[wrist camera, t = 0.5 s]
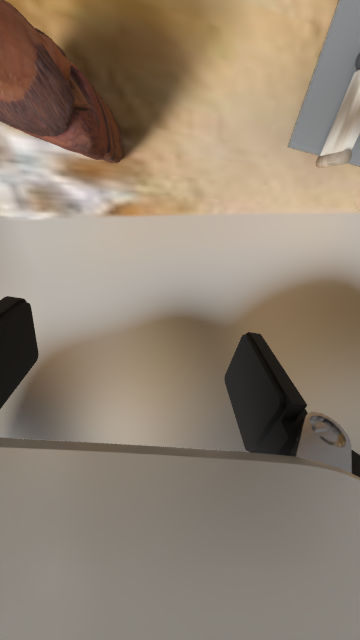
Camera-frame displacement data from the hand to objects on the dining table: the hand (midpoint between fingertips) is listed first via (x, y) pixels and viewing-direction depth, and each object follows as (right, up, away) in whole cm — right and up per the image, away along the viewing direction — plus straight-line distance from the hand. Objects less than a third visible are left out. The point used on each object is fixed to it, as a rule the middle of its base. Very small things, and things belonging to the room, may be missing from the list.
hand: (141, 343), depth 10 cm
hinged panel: (+22, +26, +18) cm, 39 cm away
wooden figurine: (-11, +26, +17) cm, 33 cm away
